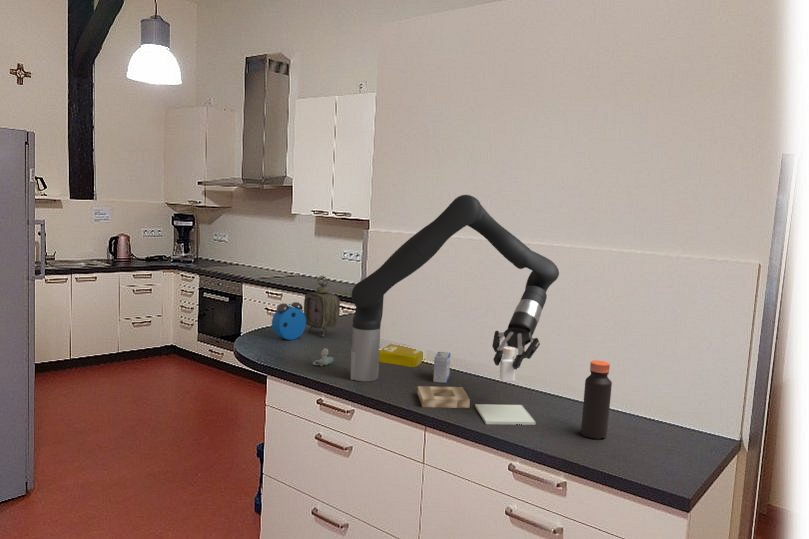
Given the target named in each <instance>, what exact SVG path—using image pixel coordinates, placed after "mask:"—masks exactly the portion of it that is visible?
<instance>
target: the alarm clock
mask: <svg viewBox="0 0 809 539" xmlns="http://www.w3.org/2000/svg"><path fill="white" fill-rule="evenodd" d="M303 310H304V306H303V305H302V304H301V303H300V302H299V301H298V302H297V301H296V302H295V301H294V302H292V303H284V302H283V303H279V305H277V307H276V311H275V312H274V314H273V316H272V319H271V328H272V331H273V333H274V334H275V335H276V336H277V337H278V340H280V338H283V339H285V340H288V341H293V340H296V339H298V338H299V337H300V336H302V334H303V333H304V331H305V329H306V326H307V324H306V317H305V315H304V311H303Z"/></svg>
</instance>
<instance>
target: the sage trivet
mask: <svg viewBox="0 0 809 539" xmlns="http://www.w3.org/2000/svg"><path fill="white" fill-rule="evenodd" d="M475 409H476V410H477V412H478V413H479V415H480V417H481V419H482V420H483V422H484V423H485V425H512V426H513V425H514V426H515V425H516V424H518V426H519V424H520V425H521V424H522V425H523V426H524V425H525V426H528V425H530V426H531V425H532V426H533V425H534V426H535V425H536V424H537V423H536V421H535V420H534V418H533V417H532V416H531V414H530V413H529V412H528V411H527V410H526V409H525V407H524V405H522V404H486V403H485V404H483V403H482V404H481V403H480V404H479V403H478V404H477V403H475ZM522 425H521V426H522ZM516 426H517V425H516Z"/></svg>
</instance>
